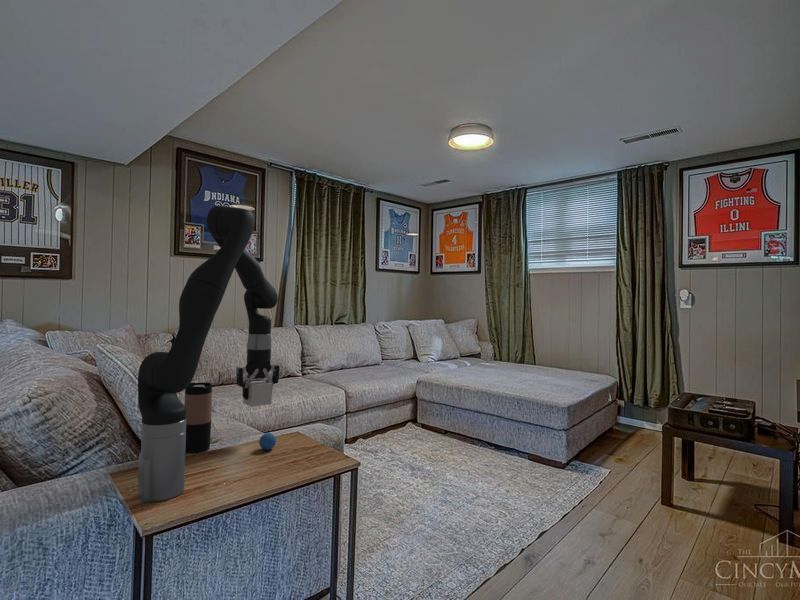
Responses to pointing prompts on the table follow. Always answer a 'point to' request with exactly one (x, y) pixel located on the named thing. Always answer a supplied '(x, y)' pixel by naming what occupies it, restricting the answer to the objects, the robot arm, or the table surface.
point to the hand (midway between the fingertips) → (257, 397)
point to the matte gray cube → (259, 393)
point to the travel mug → (198, 417)
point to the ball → (267, 441)
